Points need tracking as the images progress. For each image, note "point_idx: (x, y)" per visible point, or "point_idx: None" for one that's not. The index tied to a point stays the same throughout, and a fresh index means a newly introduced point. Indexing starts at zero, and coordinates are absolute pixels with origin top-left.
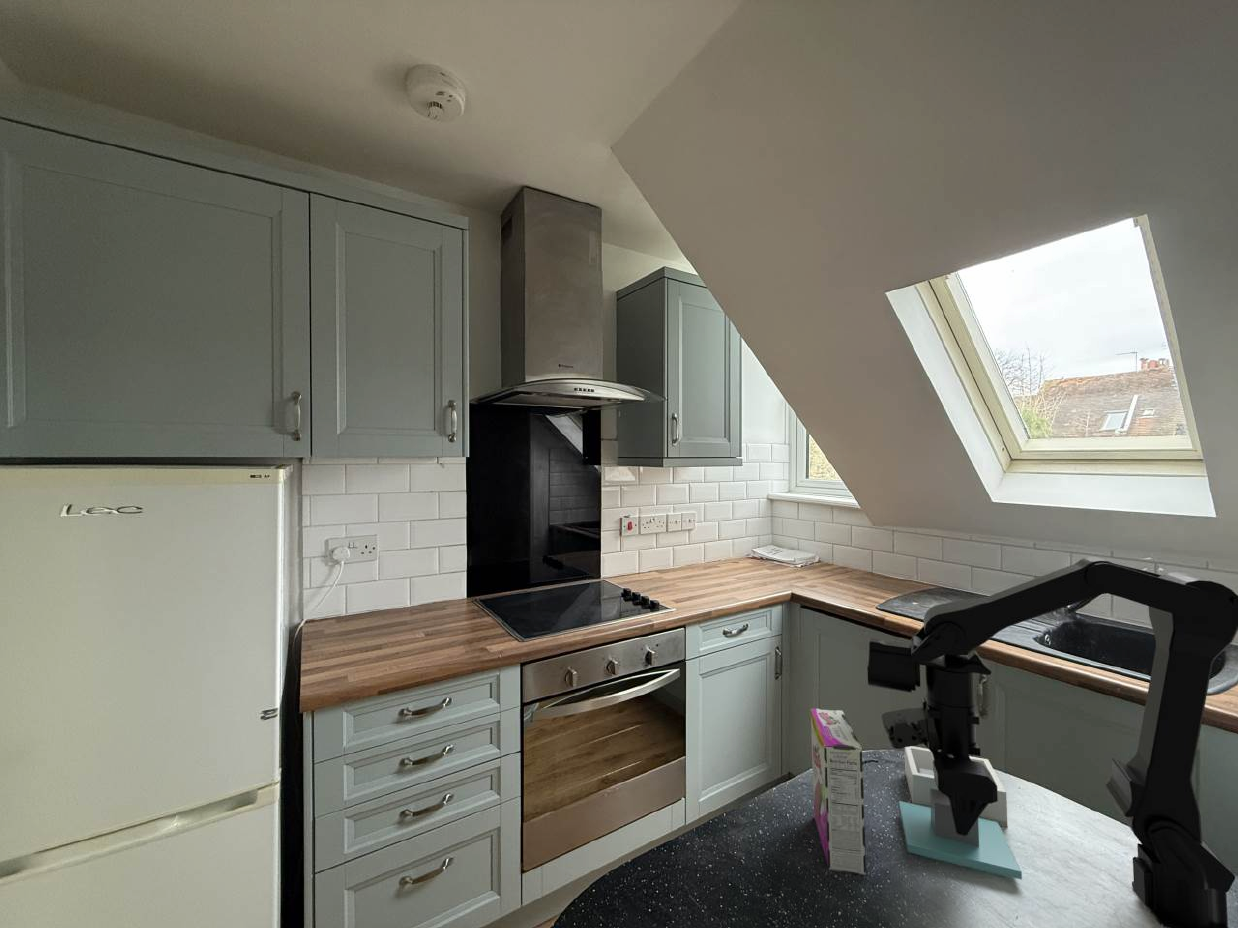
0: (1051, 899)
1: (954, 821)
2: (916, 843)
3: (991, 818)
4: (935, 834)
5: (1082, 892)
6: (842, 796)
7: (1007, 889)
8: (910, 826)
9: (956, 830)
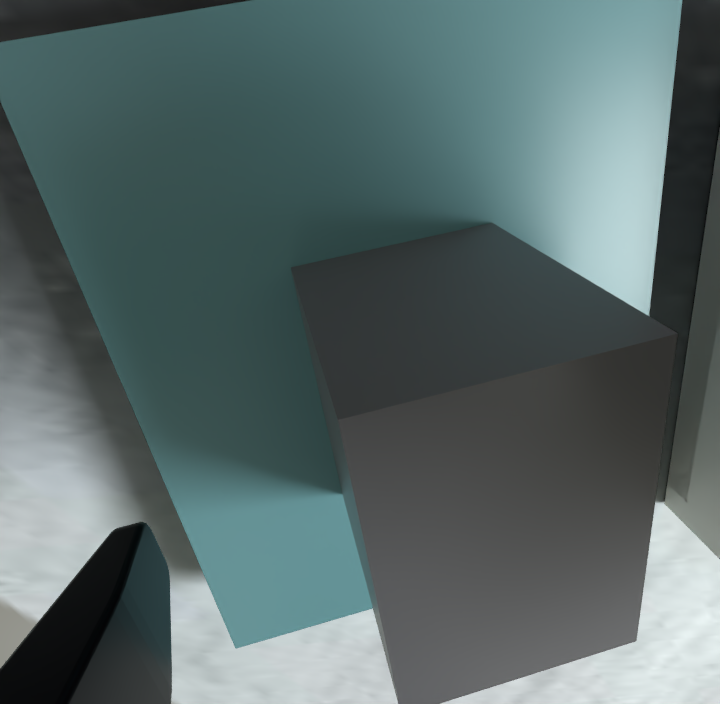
0: (233, 647)
1: (24, 641)
2: (64, 127)
3: (689, 471)
4: (288, 272)
5: (349, 696)
6: None
7: (177, 541)
8: (308, 60)
9: (99, 549)
